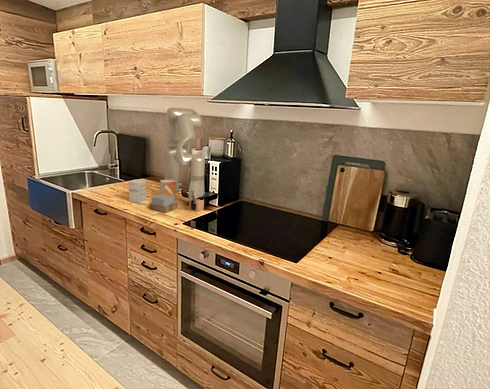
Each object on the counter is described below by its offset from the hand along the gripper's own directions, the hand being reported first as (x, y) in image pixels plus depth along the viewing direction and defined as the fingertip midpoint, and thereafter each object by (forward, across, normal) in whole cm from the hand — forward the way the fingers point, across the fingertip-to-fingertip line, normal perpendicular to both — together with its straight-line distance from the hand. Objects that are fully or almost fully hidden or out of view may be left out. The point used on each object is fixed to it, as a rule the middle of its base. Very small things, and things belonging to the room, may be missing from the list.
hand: (196, 208), depth 175 cm
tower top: (-2, +10, -16) cm, 19 cm away
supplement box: (+1, +7, -38) cm, 39 cm away
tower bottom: (+2, +10, -16) cm, 19 cm away
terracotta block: (+1, 0, 0) cm, 1 cm away
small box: (+1, -4, -24) cm, 24 cm away
